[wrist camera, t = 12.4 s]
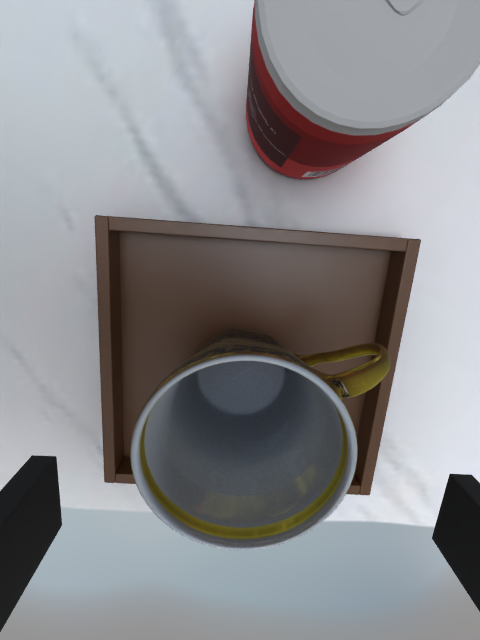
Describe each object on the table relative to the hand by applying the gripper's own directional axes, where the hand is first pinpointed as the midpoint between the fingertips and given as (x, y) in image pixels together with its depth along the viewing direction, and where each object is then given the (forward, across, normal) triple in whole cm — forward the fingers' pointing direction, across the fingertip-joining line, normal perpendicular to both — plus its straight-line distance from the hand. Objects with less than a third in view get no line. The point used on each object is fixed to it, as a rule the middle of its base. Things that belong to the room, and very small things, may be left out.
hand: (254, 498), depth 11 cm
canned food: (+14, +3, +16) cm, 21 cm away
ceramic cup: (+13, +1, 0) cm, 13 cm away
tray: (+14, 0, 0) cm, 14 cm away
